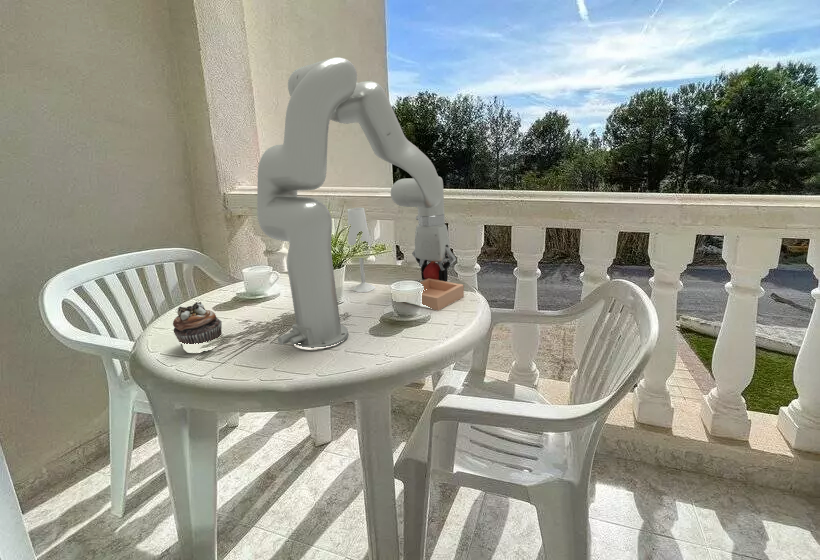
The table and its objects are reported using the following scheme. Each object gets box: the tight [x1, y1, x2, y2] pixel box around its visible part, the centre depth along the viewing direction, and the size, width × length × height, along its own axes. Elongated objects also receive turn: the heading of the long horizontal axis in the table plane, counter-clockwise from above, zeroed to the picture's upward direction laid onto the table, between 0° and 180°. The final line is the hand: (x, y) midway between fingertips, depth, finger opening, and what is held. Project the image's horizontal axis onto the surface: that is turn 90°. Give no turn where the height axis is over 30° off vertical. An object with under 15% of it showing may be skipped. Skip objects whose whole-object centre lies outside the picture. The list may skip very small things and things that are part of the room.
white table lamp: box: [347, 207, 376, 293], centre depth 124 cm, size 7×7×24 cm
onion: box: [423, 261, 441, 280], centre depth 125 cm, size 6×6×8 cm
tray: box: [419, 278, 465, 312], centre depth 114 cm, size 12×12×3 cm
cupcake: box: [172, 301, 223, 344], centre depth 94 cm, size 10×10×10 cm
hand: (434, 279), depth 126 cm, fingers closed on onion, 5 cm apart
